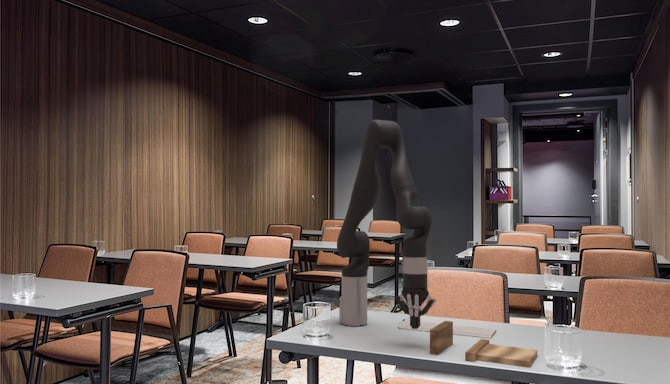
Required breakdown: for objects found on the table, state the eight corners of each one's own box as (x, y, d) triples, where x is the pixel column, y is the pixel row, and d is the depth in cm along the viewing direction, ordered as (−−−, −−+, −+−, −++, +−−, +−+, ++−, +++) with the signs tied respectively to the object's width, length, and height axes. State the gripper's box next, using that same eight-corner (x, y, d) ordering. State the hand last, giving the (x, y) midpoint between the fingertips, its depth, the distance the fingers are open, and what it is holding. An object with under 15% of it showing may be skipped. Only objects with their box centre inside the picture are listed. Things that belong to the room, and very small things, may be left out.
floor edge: (465, 360, 148) (465, 352, 148) (480, 346, 163) (480, 338, 163) (528, 369, 140) (528, 360, 140) (538, 353, 155) (538, 345, 155)
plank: (429, 354, 155) (429, 329, 155) (444, 343, 167) (444, 320, 167) (438, 355, 154) (438, 330, 154) (452, 344, 166) (452, 321, 166)
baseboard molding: (490, 341, 171) (496, 333, 182) (490, 332, 171) (496, 325, 182) (397, 331, 185) (408, 324, 196) (397, 322, 185) (408, 316, 196)
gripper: (390, 271, 165) (390, 328, 164) (431, 274, 158) (431, 333, 158) (399, 269, 171) (399, 323, 171) (439, 271, 165) (440, 328, 164)
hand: (415, 328), depth 164 cm, fingers closed
